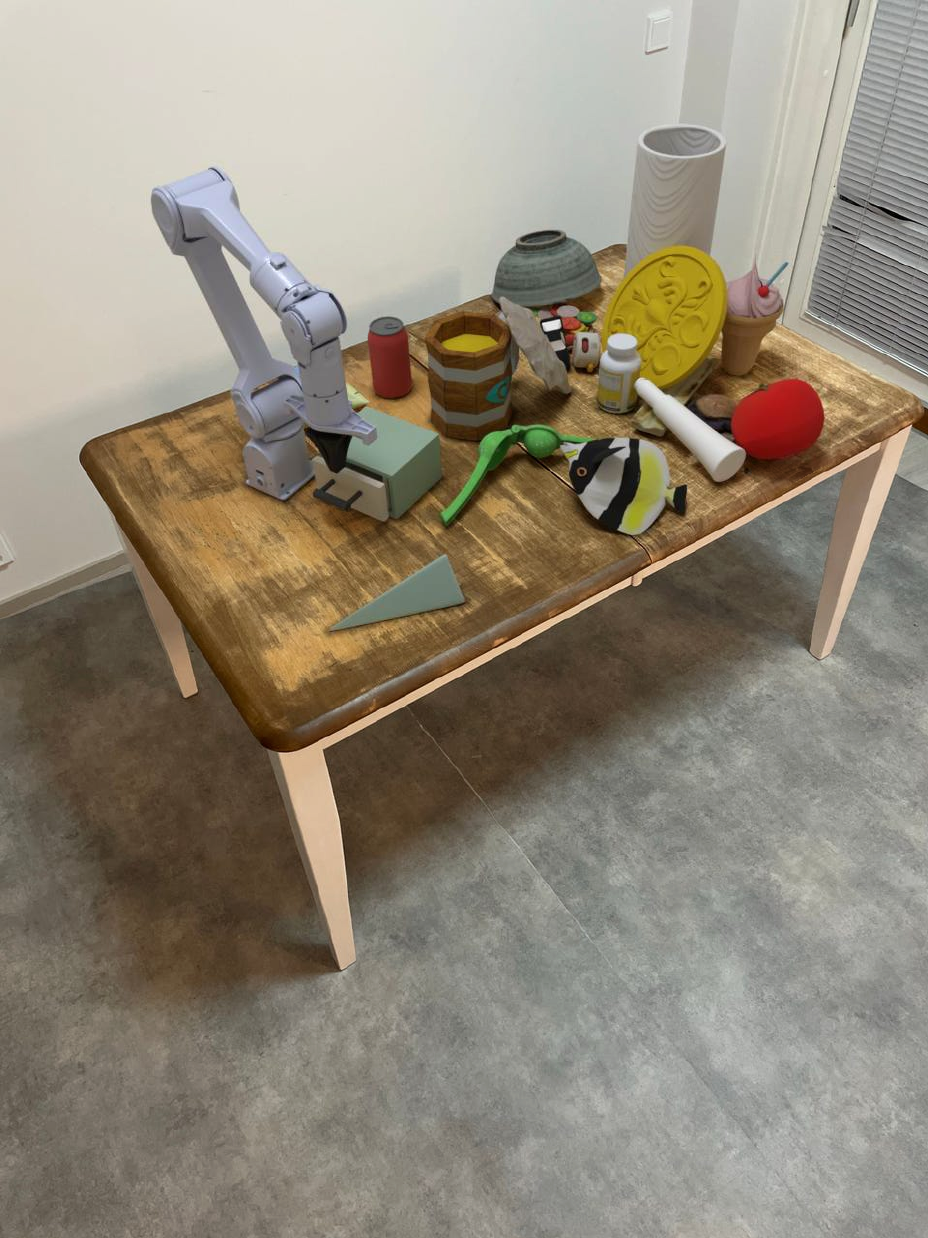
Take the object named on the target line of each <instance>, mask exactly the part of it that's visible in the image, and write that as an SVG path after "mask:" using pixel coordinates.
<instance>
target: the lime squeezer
mask: <svg viewBox="0 0 928 1238" xmlns="http://www.w3.org/2000/svg"><path fill="white" fill-rule="evenodd" d="M597 439H598V438H591V437H584V436H577V435H568V434H561V433H560V432H559V431H558V430H557V429H556V428H553V427H551V426H548V425H545V424H530V425H528V426H524V425H519V424H513V425H512V426H511V429H510V428H509V429H506V430H505V431H496V432H492V433H490V434H488V435H486V436H485V437H484V438H483V439H481V440H480V443H479V444H478V450H477V454H478V461H477V463H476V465H475V467H474V469H473V471H472V474H471V475H470V477H469V478H468V480H467V482H466V483H465V485H464V487H463V488H462V489H461V491H460V492H459V493H458V495H457V496H456V498H455V499H454V500H453V501H452V502H451V503H450V505H448V506H447V508H445V509H444V510H442V511H440V513H439V515H440V516H439V517H440V519H441V521H442V523H443V525H444V527H447V526H449V525H450V524H451V522H453V520H454V519H455V518H456V517H457V515H458V514H459V513H460V512H461V510H462V509H463V508H464V507H465V505H466V504H467V503H468V502H469V500H470V499H471V497H472V496H473V494H475V492H476V491H477V489H478V487H479V486H480V484H481V482H482V481H483V479H484V478H485V476H486V474H487V473H488V471H493V470H495V469H497V468H498V466H499V465H500V464H501V462H502V461H503V460H504V459H505V457H506V455H507V453H508V452H509V449H510V448H511V446H516V445H518V443H520V444H522V445H524V448H525V450H526V452H527V453H528V454H530V455H531V456H533V457H535V458H539V459H544V458H547V457H549V456H551V455H552V454H554V452H555V451H557V450H559V449H560V450H561V447H560V446H561V445H563V442H566V443H572V444H581V443H585V442H589V441H592V440H597Z"/></svg>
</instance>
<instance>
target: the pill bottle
mask: <svg viewBox="0 0 928 1238" xmlns="http://www.w3.org/2000/svg"><path fill="white" fill-rule="evenodd" d="M636 351H637V339H636V338H635V337H634V336H632V335H629V334H615V335H612V336H610V337H609V338H608V341H607V350H606V351H605V352H604V353H603V352H602V353H601V355H600V358H599V369H598V381H597V383H598V384H597V397H596V401H597V405H598V407H599V408H601V409H602V410H603V411H605V412H607V413H610V414H611V413H612V414H625V413H628V412H630V411H632V410H633V409H634V408H635V407H636V406H637V403H638V396H639V395H638V394H637V391H636V390H635V389H634V384H635V382H636V381H637V380H638V379H639V378H640V369H641V357H640V355H639V354H638V353H637V352H636Z"/></svg>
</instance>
